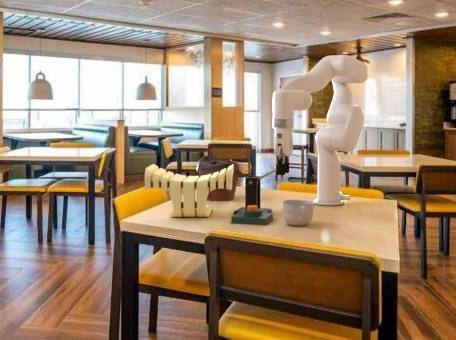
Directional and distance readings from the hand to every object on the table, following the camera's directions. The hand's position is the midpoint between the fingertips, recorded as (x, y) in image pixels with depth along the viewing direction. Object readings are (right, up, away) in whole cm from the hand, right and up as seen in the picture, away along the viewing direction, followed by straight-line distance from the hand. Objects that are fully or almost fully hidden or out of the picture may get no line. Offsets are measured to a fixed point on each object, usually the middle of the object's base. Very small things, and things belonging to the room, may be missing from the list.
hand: (282, 173), depth 198 cm
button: (-10, -13, -10) cm, 19 cm away
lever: (-5, -1, +1) cm, 6 cm away
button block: (-10, -17, -9) cm, 22 cm away
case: (-29, -11, +34) cm, 46 cm away
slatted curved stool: (-34, -15, +1) cm, 37 cm away
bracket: (-11, -15, +4) cm, 19 cm away
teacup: (+6, -18, -15) cm, 24 cm away
